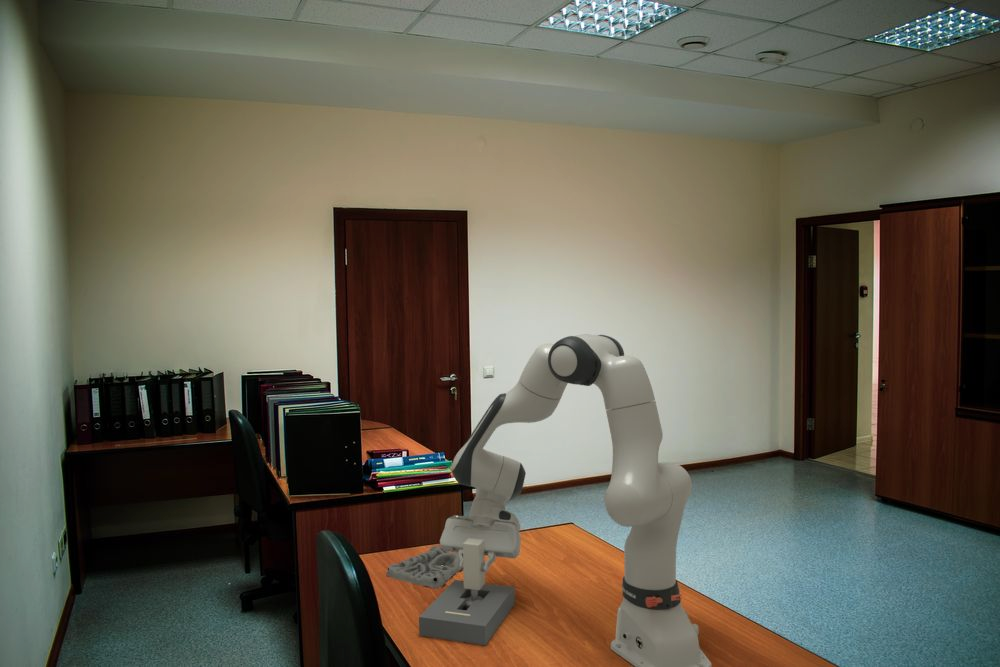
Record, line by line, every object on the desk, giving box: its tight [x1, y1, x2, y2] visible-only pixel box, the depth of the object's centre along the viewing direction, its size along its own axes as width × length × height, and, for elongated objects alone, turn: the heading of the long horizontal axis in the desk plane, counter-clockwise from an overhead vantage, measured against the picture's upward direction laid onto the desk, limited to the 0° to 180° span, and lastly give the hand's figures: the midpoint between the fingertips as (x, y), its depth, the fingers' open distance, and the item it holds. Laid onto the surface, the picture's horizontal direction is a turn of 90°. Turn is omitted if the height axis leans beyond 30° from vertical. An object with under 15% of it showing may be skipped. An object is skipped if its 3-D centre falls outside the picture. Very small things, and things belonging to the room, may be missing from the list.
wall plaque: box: [385, 545, 462, 589], centre depth 202 cm, size 24×19×4 cm
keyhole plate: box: [418, 579, 516, 647], centre depth 169 cm, size 22×16×5 cm
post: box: [462, 538, 486, 610], centre depth 173 cm, size 4×4×16 cm
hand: (473, 570), depth 172 cm, fingers closed on post, 4 cm apart
